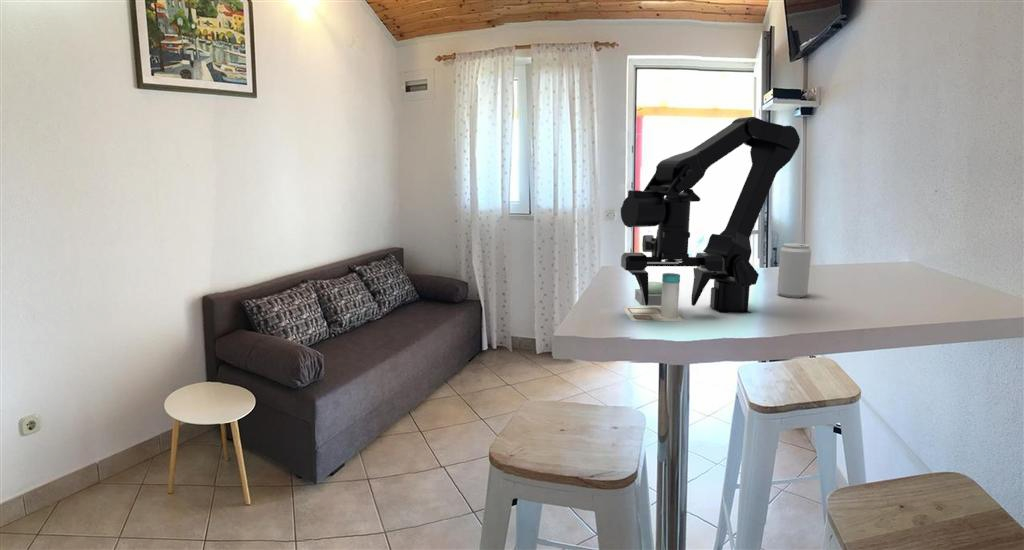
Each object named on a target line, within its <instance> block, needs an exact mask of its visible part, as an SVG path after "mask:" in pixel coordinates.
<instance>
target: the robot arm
mask: <svg viewBox="0 0 1024 550" xmlns="http://www.w3.org/2000/svg"><path fill="white" fill-rule="evenodd" d="M800 143H801V138H800V135H799V133H798V131H797V129H796V128H795V126H792V125H782V124H779V123H774V122H770V121H766V120H765V121H764V120H762V119H760V118H759V117H756V116H747V117H739V118H736V119H735V120H733V121H732V122H731V123H730V124H729V125H728V126H726V127H725V128H723V129H721V130H720V131H718V132H717V133H715V134H713V135H712V136H710V137H709V138H707V139H706V140H704V141H703V142H702V143H700V144H699V145H696V146H695V147H694V148H693V149H691V150H688V151H685V152H681V153H678V154H675V155H673V156H670V157H668V158H665V159H662V160H661V161H660V162H659V163H657V165H656V169H655V173H654V174H653V176H652V178H651V179H650V181H649V182H648V183H647V185H646V186H645V188H644V190H636V189H634V190H633V189H629V190H628V191H627V197H626V198H625V199H624V200H623V202H622V206H621V207H620V218H621V221H622V223H623V225H625V227H627V228H643V227H644V228H647V227H657V230H656V237H655V238H654V235H652V234H647V235H646V234H645V235H643V236H642V244H641V245H642V247H641V248H642V252H624V253H623V254H622V255H621V257H620V259H621V261H620V266H621V268H623V269H624V271H628V273H630V274H631V275H632V276H635V279H636V281H637V283H638V287H639V289H640V290H641V294H642V297H643V300H644V304H645V305H644V306H645V307H648V306H649V305H648V299H649V295H648V282H649V272H647V271H646V268H647V267H693V284H692V292H691V306H693V307H695V306H696V304H697V302H698V301H699V299H700V296H701V295H702V293H703V291H704V289H705V287H706V286H707V284H708V283H709V282H710V280H713V287H711V288H710V299H709V300H710V302H709V307H710V308H711V309H713V310H715V311H716V312H718V313H720V314H750V313H752V311H751V310H749V302H750V301H749V299H750V287H751V286H753V285H754V286H755V285H756V284H757V281H758V279H759V277H760V276H759V275H760V273H758V271H757V270H756V269H755V268H754V266H753V265H752V264H751V262H750V260H751V255H752V247H751V239H750V238H751V234H752V233H753V230H754V227H755V226H756V224H757V223H756V222H757V221H758V218H759V216H760V214H761V211H762V209H763V207H764V204H765V202H766V200H767V198H768V195H769V192H770V189H771V187H772V185H773V183H774V181H775V178H776V176H777V174H778V172H779V171H780V170H781V169H783V168H784V167H785V166H786V165H787V164H788V163H789V162H790V161H791V160H792V159H793V156H794V155H795V153H796V151H797V150H798V148H799V146H800ZM742 145H746V146H747V147H749V148H750V159H751V168H750V169H749V172H748V174H747V177H746V179H745V181H744V183H743V186H742V189H741V191H740V193H739V196H738V198H737V200H736V203H735V205H734V208H733V210H732V212H731V215H730V216H729V220H728V222H727V224H726V227H725V228H724V230H722V232H720V233H719V234H717V233H712V234H711V235H710V236H709V239H708V242H707V245H706V247H705V248H704V250H703V252H697V253H696V255H695V256H690V254H689V253H688V251H689V239H690V238H691V232H690V217H691V213H690V212H691V202H701V197H700V196H699V195H698V194H696V193H695V191H694V190H693V189H692V188H694V187H695V186H696V185H697V184H698V183H699V182H700V181H701V179H703V178H704V176H705V174H706V172H707V170H708V169H709V168H710V167H711V166H712V165H714V164H715V163H717V162H718V161H720V160H721V159H723V158H724V157H726V156H727V155H729V154H730V153H732V152H733V151H735V150H736V149H737V148H739V147H741V146H742ZM644 253H651V256H647V255H646V254H644Z"/></svg>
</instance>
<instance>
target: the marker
mask: <svg viewBox="0 0 1024 550" xmlns="http://www.w3.org/2000/svg"><path fill="white" fill-rule="evenodd" d="M661 277H662V278H661V283H662V301H661V305H660V307H661V316H663V317H668V318H675V317H678V315H679V314H678V313H679V297H680V281H681V274H680V273H674V272H673V273H672V272H666V273H665V272H664V273H662V276H661Z"/></svg>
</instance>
